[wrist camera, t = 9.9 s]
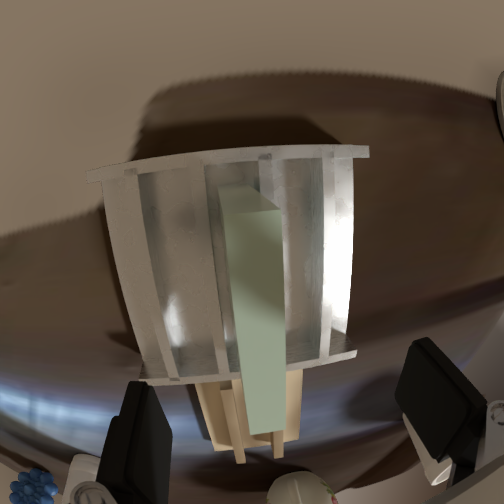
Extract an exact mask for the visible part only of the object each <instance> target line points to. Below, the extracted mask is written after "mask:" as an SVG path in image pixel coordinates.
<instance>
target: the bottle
mask: <svg viewBox="0 0 504 504" xmlns="http://www.w3.org/2000/svg"><path fill="white" fill-rule="evenodd" d="M100 459H101V458H98V457H95V456H93V455H88V454H77V455H74V457H73V461H72V462H71V465H70V469H69V475H68V479H67V482H66V486H65V490H64V494H63V499H62V503H61V504H68V503H70V494H71V491H72V490H73V488H74V487H75V486H76V485H78V484H79V483H81V482H85V481H94V482H95V480H96V476H97V472H98V467H99V463H100Z"/></svg>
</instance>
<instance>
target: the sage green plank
mask: <svg viewBox="0 0 504 504" xmlns="http://www.w3.org/2000/svg"><path fill="white" fill-rule="evenodd" d="M217 189H218V199H219V209H220V219H221V229H222V239H223V248H224V257H225V266H226V275H227V283H228V292H229V300H230V308H231V316H232V324H233V332H234V340H235V346H236V353H237V359H238V366H239V372H240V378H241V384H242V390H243V396H244V402H245V408H246V414H247V420H248V426H249V431H250V435H255V434H261V433H268V432H274V431H279V430H285V429H286V337H285V293H284V263H283V238H282V217H281V209H280V208H279V207H277V206H276V205H275V204H273V203H272V202H271V201H270V200H268V199H267V198H266V197H264V196H263V195H262V194H260V193H259V192H258V191H257V190H255V189H254V188H253V187H251V186H250V185H249V184H247V183H243V184H232V185H222V186H217Z"/></svg>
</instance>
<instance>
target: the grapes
mask: <svg viewBox="0 0 504 504" xmlns="http://www.w3.org/2000/svg"><path fill="white" fill-rule="evenodd" d="M18 480H19V481H20V482H18V481H13V482H11V484H10V488H11V490H12V491H13V493H11V494H10V496H9V498H10V501H11V502H12V503H13V504H54V500H53V498H52V497H51V496H54V495H56V494H57V492H58V487H57V486H56V484H54V483H53V480H54V479H53V476H52V474H50V473H48V472H44V473H42V471H41V470H40V469H38V468H34V469H31V470H30V473H27V472H20V473H19V474H18Z"/></svg>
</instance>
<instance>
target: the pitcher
mask: <svg viewBox="0 0 504 504" xmlns="http://www.w3.org/2000/svg"><path fill="white" fill-rule="evenodd" d="M266 504H338V502H337V499H336V497H335V495H334V493H333V492H332V490H331V489H330V488H329V486H328V485H327V484H326V483H325V482H324V481H323V480H322V479H321V478H320V477H318V476H316V475H315V474H312V473H311V472H309V471H298V472H292V473H289V474H286V475H283V476H281V477H279V478H277V479H276V480H275V481H274V482H273V484H272V486H271V487H270V489H269V492H268V495H267V499H266Z"/></svg>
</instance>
